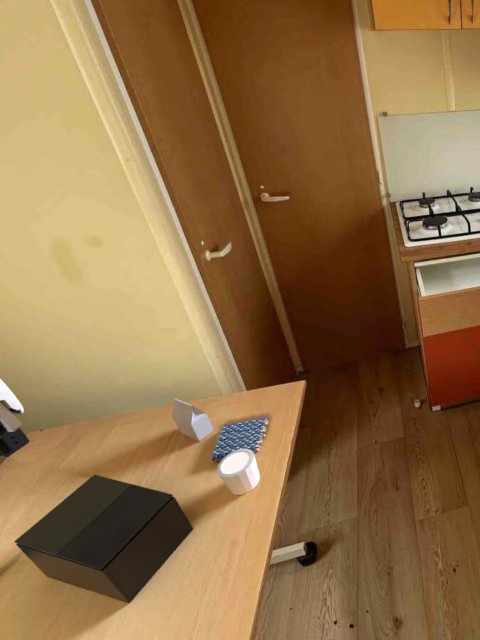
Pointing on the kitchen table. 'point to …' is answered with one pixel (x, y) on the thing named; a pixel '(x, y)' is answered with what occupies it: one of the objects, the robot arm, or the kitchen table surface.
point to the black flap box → (120, 545)
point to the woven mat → (240, 438)
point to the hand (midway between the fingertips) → (15, 448)
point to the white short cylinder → (239, 471)
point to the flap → (73, 515)
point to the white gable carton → (191, 420)
